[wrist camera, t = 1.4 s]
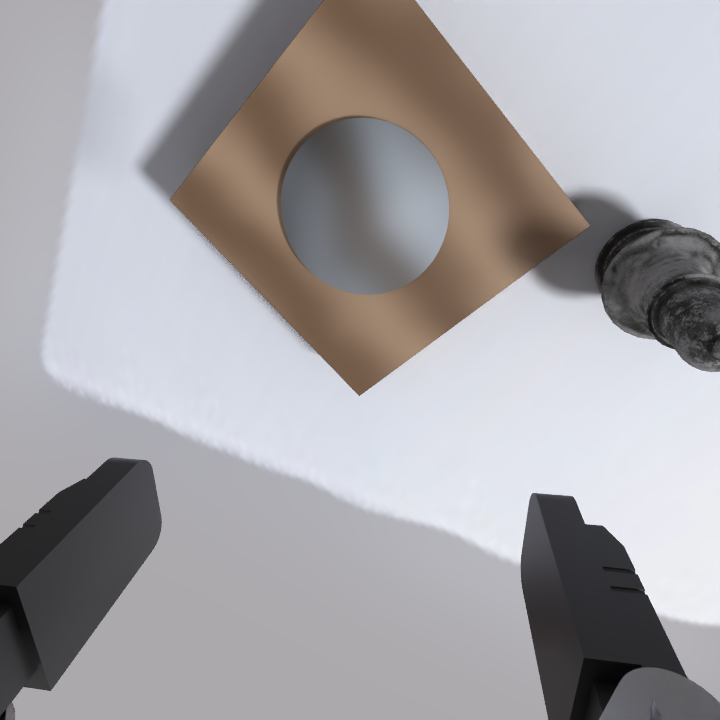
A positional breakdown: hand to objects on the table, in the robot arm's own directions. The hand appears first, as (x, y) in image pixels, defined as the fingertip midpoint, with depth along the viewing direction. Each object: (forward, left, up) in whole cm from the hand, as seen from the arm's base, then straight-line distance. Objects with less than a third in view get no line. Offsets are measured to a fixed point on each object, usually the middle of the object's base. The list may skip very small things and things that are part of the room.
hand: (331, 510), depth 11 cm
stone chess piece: (-8, +9, -23) cm, 26 cm away
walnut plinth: (+1, -4, -23) cm, 23 cm away
